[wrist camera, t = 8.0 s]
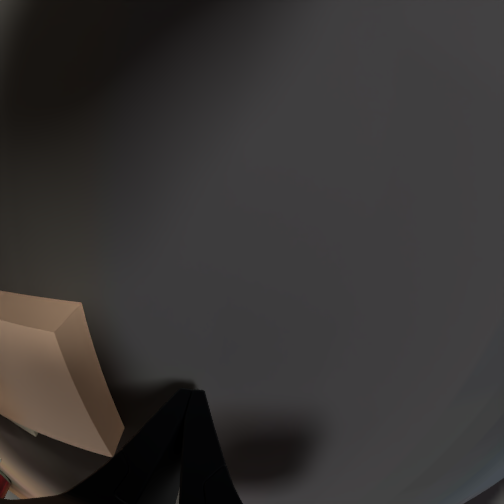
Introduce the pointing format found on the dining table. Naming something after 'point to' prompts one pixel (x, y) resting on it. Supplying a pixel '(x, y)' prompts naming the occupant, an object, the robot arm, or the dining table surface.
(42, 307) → the terracotta tile
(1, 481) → the soda can
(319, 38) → the dining table surface
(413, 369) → the dining table surface
